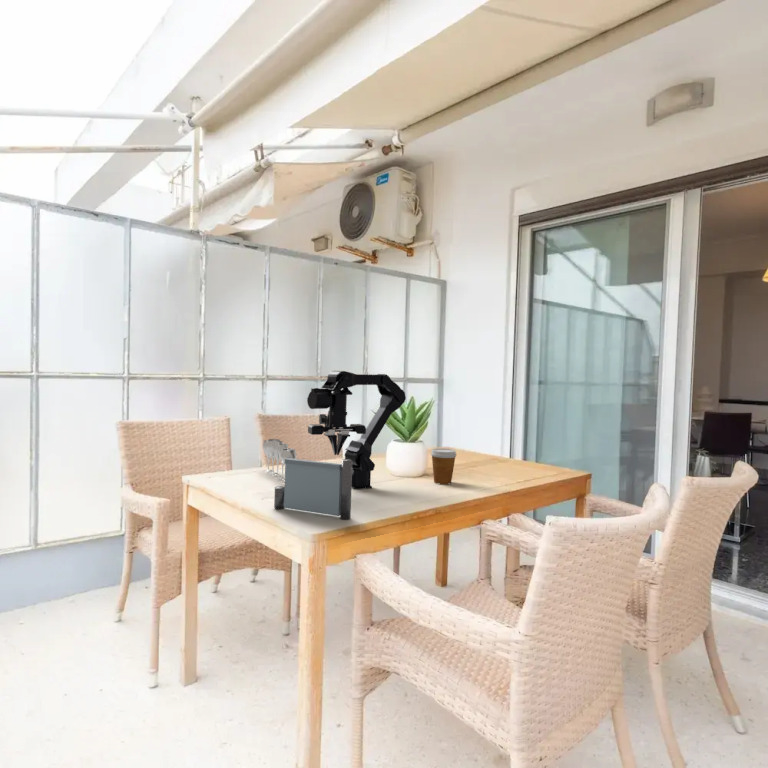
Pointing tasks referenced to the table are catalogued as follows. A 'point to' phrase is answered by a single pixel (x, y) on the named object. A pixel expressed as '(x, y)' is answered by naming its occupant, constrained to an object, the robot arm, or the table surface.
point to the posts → (345, 491)
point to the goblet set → (277, 453)
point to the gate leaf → (313, 486)
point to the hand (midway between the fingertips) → (336, 454)
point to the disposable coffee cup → (443, 465)
